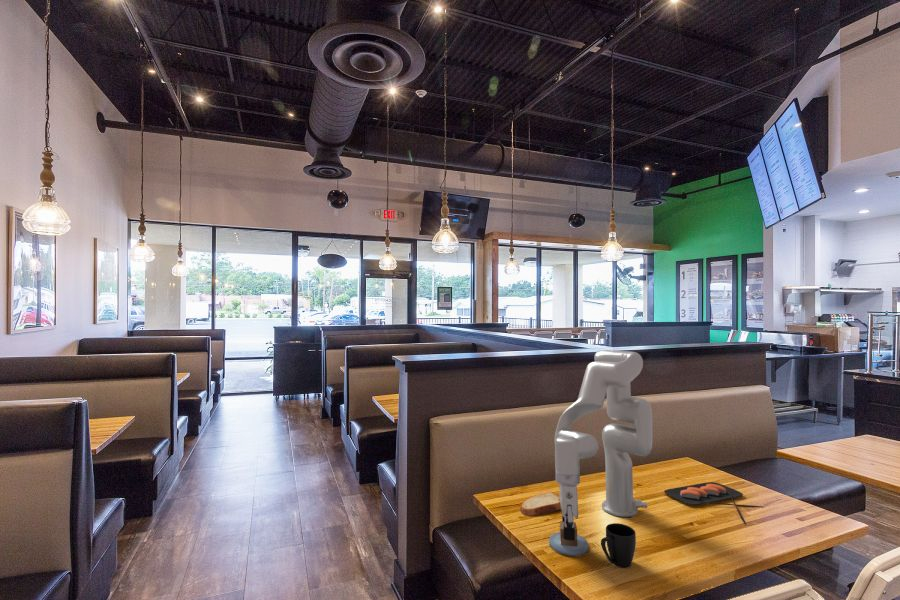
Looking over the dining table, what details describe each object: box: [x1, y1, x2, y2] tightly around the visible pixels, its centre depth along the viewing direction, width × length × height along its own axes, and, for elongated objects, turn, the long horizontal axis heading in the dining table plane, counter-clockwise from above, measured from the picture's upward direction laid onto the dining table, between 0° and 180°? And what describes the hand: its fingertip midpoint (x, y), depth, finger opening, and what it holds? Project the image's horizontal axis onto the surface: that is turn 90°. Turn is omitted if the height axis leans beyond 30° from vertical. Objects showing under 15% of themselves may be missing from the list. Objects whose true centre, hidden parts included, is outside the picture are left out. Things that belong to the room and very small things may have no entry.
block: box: [559, 520, 578, 546], centre depth 136 cm, size 5×5×5 cm
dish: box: [548, 531, 589, 557], centre depth 136 cm, size 12×12×1 cm
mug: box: [600, 522, 637, 569], centre depth 126 cm, size 8×12×10 cm
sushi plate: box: [663, 481, 765, 525], centre depth 165 cm, size 29×30×4 cm
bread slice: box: [519, 492, 561, 517], centre depth 163 cm, size 18×18×4 cm
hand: (568, 533), depth 136 cm, fingers open, 6 cm apart
